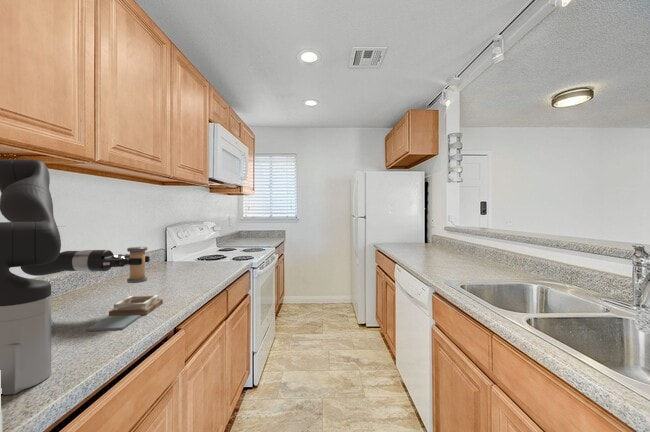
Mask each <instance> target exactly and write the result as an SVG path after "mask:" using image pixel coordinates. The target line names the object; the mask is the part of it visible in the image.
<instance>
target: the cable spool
mask: <svg viewBox="0 0 650 432" xmlns="http://www.w3.org/2000/svg"><path fill="white" fill-rule="evenodd" d="M126 249H127V250H126V251H127V252H128V253H129V254H130V258H142V264H141V265H129V278H127V279H126V282H127V284H139V283H144V282H147V281H148V277H147V276H146V262H145V256H146V251H148V246H133V247H127V248H126Z"/></svg>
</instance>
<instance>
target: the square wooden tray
mask: <svg viewBox="0 0 650 432" xmlns="http://www.w3.org/2000/svg"><path fill="white" fill-rule="evenodd" d="M163 302H164V300H163V299H162V298H161V299H160V295H159V294H149V295H146V294H145V295H144V294H143V295H129V296H127V297H126V298H123V299H122V300H120V301H118V302H116V303H115V304H113V308H112V309H111V310H109V311H108V316H130V315H141V316H144V315H145V316H146V315H149V314H150V313H151V312H153V311H155V309H157V308H158V307H160V306H161V305H162V304H164V303H163Z"/></svg>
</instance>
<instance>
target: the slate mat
mask: <svg viewBox="0 0 650 432" xmlns="http://www.w3.org/2000/svg"><path fill="white" fill-rule="evenodd" d="M141 317H142V315H120V316H109V315H108V316H106V317H104V318H103V319H100V321H97V322H96V323H94V324H92V325H91V326H89V327H87V328H86V331H87V332H90V331H91V332H92V331H115V330H121V331H122V330H124V329H126V328H127V327H129V326H130V325H131V324H133V323H134V322H136V321H137V320H139V319H140V318H141Z"/></svg>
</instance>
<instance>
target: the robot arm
mask: <svg viewBox="0 0 650 432" xmlns="http://www.w3.org/2000/svg"><path fill="white" fill-rule="evenodd" d="M49 171H50V170H49V169H48V167H47V165H46V164H45V163H44V162H43V161H41V160H38V159H33V158H32V159H27V158H25V159H24V158H21V159H16V158H15V159H10V158H9V159H7V158H6V159H0V193H1V194H0V214H1V215H2V217H4V218H5V219H6V220H7V221H4V222H0V370H1V388H2V394H3V395H2V396H4V395H5V396H8V395H9V396H10V395H16V394H18V393H20V392H21V391H23V390H26V389H29V388H31V387H33V386H36V385H39V384H40V383H42V382H44V381H45V380H47V378H49V377H50V376H51V374H52V284H51V282H50V281H47V280H43V279H34V278H28V277H24V276H21V275H18V274H15V273H14V272H11V270H10V268H18V267H19V268H20V270H22V272H23V273H25V274H27V275H28V276H33V277H34V276H36V277H38V276H39V277H41V276H47V275H53V274H57V273H62V272H84V273H85V272H87V273H88V272H107V271H110V270H111V269H112V268H119V267H120V268H123V267H125V266H126V267H129V266H130V265H141V264H142V258H130V253H129V254H128V253H125V254H122V253H121V254H119V253H118V254H115V255H114V253H113V251H111V250H110V249H88V250H87V249H85V250H65V251H62V252H61V248H62V240H61V234H60V231H59V228H58V225H57V223H56V220H55V217H54V205H53V198H52V194H51V190H50V184H51V183H50V181H51V179H50V178H51V177H50V172H49ZM150 258H151V257H150V256H149V255H145V263H149V262H150V260H151V259H150Z"/></svg>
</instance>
